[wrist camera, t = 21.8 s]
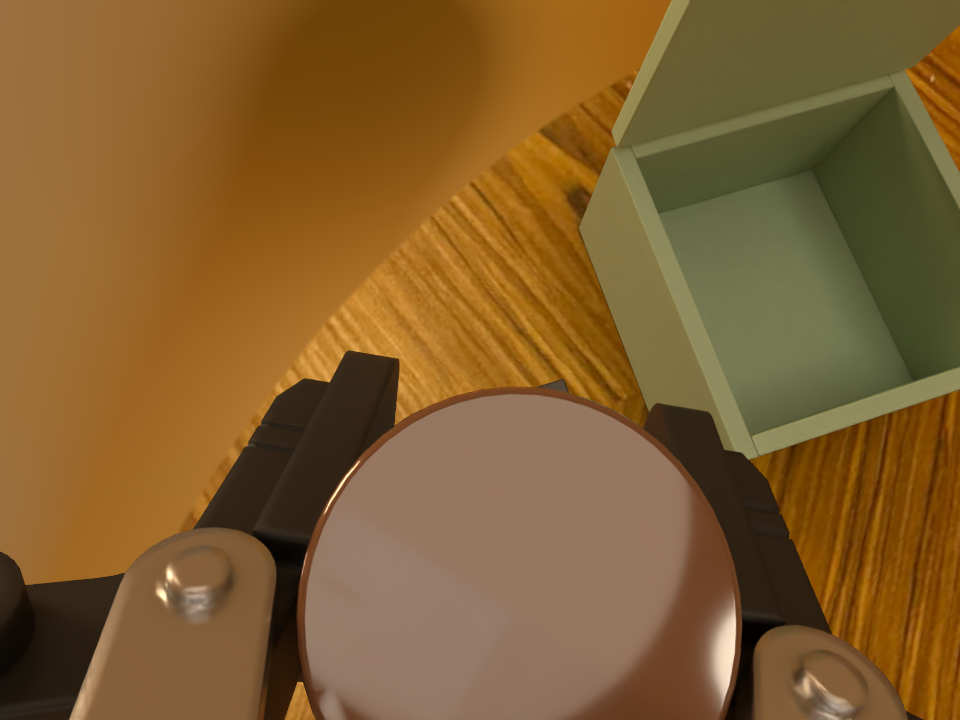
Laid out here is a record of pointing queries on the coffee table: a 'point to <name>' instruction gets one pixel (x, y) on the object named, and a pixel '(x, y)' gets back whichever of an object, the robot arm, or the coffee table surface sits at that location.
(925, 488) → the coffee table surface
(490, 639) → the canister
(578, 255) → the coffee table surface
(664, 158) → the chest
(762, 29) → the chest lid
